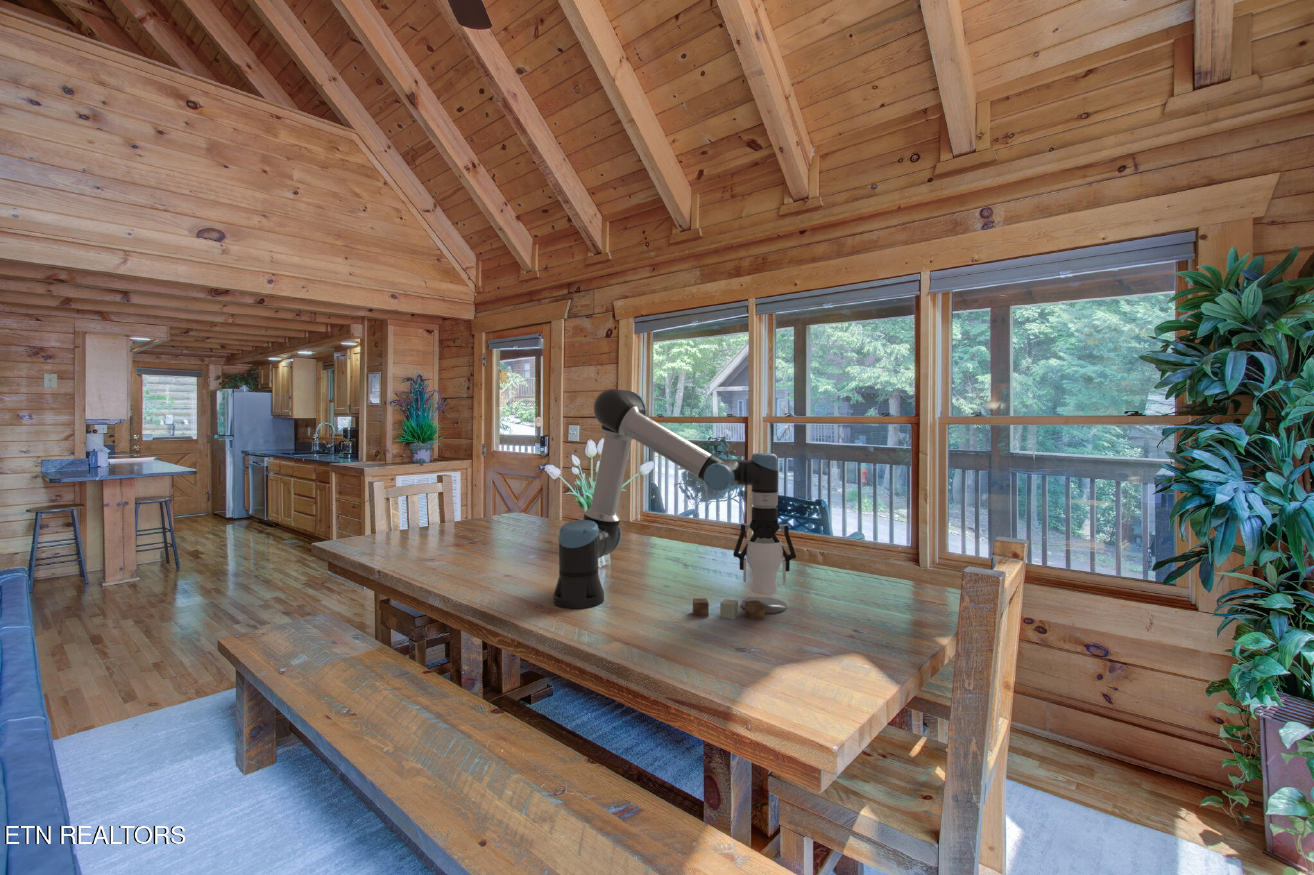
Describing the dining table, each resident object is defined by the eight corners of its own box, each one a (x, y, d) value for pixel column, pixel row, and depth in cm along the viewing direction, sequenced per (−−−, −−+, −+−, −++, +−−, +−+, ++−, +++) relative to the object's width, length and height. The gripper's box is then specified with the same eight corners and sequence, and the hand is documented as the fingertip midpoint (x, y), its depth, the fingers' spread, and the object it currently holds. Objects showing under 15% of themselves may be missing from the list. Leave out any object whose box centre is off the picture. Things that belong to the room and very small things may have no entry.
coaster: (741, 612, 166) (741, 609, 166) (741, 598, 179) (741, 596, 179) (788, 614, 164) (788, 611, 164) (784, 600, 177) (784, 597, 177)
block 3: (751, 620, 160) (751, 605, 160) (744, 615, 164) (744, 601, 164) (764, 618, 161) (764, 604, 161) (757, 614, 165) (757, 600, 165)
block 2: (720, 617, 162) (720, 602, 162) (724, 612, 166) (724, 598, 166) (734, 619, 161) (734, 604, 161) (738, 614, 164) (738, 600, 164)
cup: (780, 586, 176) (780, 537, 176) (784, 597, 166) (785, 544, 165) (744, 585, 177) (745, 536, 177) (746, 596, 167) (747, 543, 166)
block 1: (694, 617, 162) (694, 602, 162) (692, 612, 166) (692, 598, 166) (708, 616, 163) (708, 602, 162) (706, 612, 167) (706, 598, 166)
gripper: (724, 507, 168) (724, 583, 169) (806, 508, 165) (806, 586, 166) (725, 503, 176) (724, 576, 176) (803, 505, 173) (803, 579, 173)
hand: (764, 581), depth 171 cm, fingers closed on cup, 11 cm apart
